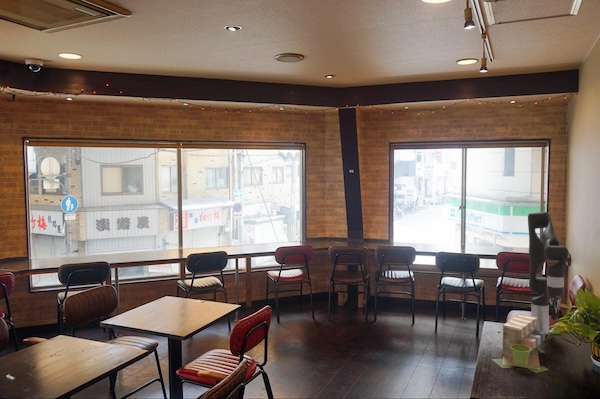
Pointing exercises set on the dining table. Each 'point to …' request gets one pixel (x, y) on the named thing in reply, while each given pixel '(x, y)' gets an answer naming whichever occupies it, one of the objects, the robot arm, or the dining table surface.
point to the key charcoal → (539, 334)
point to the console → (517, 332)
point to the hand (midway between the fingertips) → (554, 318)
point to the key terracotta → (529, 342)
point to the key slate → (537, 337)
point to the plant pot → (520, 354)
